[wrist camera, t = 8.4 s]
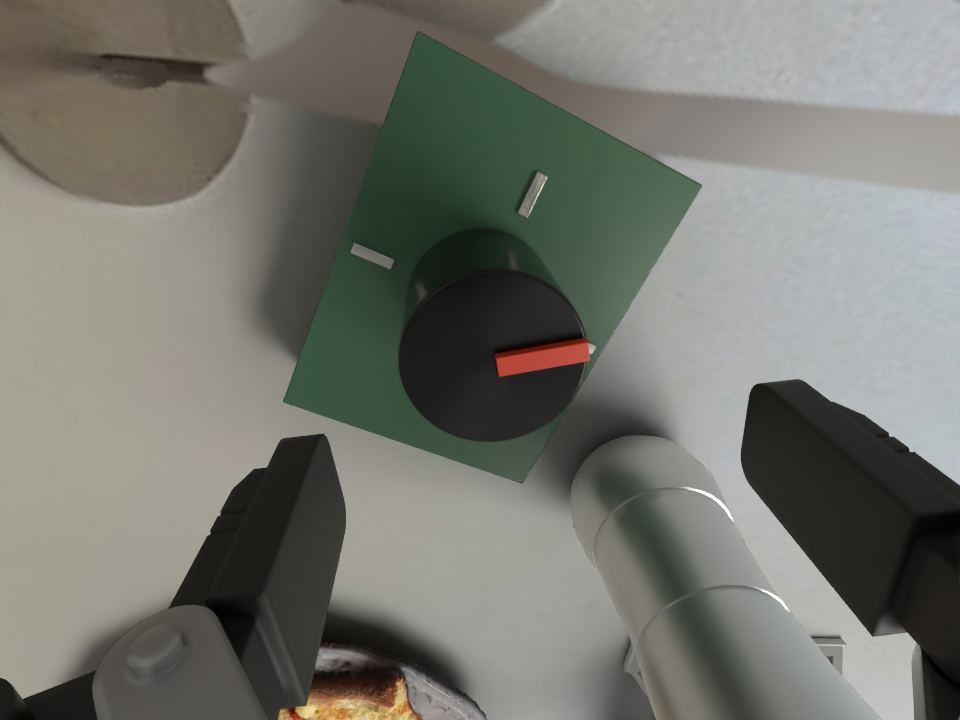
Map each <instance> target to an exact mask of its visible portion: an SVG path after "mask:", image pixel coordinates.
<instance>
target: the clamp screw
mask: <svg viewBox="0 0 960 720" xmlns="http://www.w3.org/2000/svg"><path fill="white" fill-rule="evenodd" d="M587 361H590V354H589V342H588V341H587V338H586V333H585V329H584V326H583V323H582V321H581V319H580V317H579V314H578V312H577V311H576V309H575V308H574V306H573V305H572V304H571V302H570V301H569V299H568V298H567V296H566V295H565V293H564V292H563V291H562V289H561V288H560V286H559V285H558V283H557V282H556V280H555V279H554V278H553V276H552V275H551V273H550V272H549V270H548V269H547V267H546V266H545V265H544V263H543V262H542V260H541V259H540V257H539V256H538V255H537V254H536V253H535V251H534V250H533V249H532V248H531V247H529V246H528V245H527V244H526V243H525V242H523V241H522V240H520V239H518V238H517V237H515V236H512V235H510V234H508V233H505V232H501V231H498V230H492V229H471V230H466V231H462V232H458V233H455V234H453V235H450V236H448V237H446V238H444V239H443V240H441V241H439V242H438V243H437V244H435V245H434V246H433V247H432V248H430V249H429V250H428V251H427V252H426V253H425V255H424V256H423V257H422V258H421V260H420V261H419V263H418V264H417V266H416V268H415V269H414V272H413V274H412V277H411V279H410V283H409V287H408V293H407V299H406V305H405V312H404V318H403V324H402V330H401V336H400V343H399V351H398V368H399V374H400V379H401V382H402V385H403V388H404V390H405V392H406V394H407V396H408V398H409V400H410V401H411V403H412V404H413V406H414V407H415V408H416V409H417V411H418V412H419V413H420V414H421V415H422V416H423V417H424V418H425V419H426V420H428V421H429V422H430V423H431V424H433V425H434V426H436V427H437V428H439V429H440V430H442V431H444V432H446V433H448V434H450V435H453V436H456V437H459V438H462V439H466V440H471V441H479V442H499V441H507V440H512V439H516V438H520V437H522V436H525V435H528V434H530V433H532V432H535V431H537V430H539V429H540V428H542V427H544V426H545V425H547V424H548V423H550V422H551V421H552V420H554V419H555V418H556V417H557V416H558V415H559V414H560V413H561V412H562V411H563V410H564V409H565V408H566V407H567V406H568V405H569V403H570V402H571V401H572V399H573V398H574V396H575V394H576V393H577V391H578V389H579V387H580V385H581V382H582V380H583V377H584V374H585V370H586V365H587Z"/></svg>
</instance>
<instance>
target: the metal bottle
mask: <svg viewBox="0 0 960 720" xmlns="http://www.w3.org/2000/svg"><path fill="white" fill-rule="evenodd" d="M570 498H571V509H572V518H573V526H574V529H575V532H576V535H577V537H578V539H579V541H580V543H581V545H582V547H583V549H584V551H585V552H586V554H587V556H588V558H589V559H590V561H591V562H592V564H593V565H594V567H595V569H596V570H597V572H598V573H599V574H600V576H601V577H602V579H603V581H604V584H605V586H606V588H607V590H608V592H609V594H610V597H611V599H612V601H613V603H614V605H615V607H616V609H617V612H618V614H619V616H620V618H621V620H622V622H623V625H624V627H625V629H626V631H627V633H628V635H629V637H630V640H631V642H632V645H633V649H634V652H635V655H636V658H637V661H638V664H639V667H640V669H641V674H642V677H643V681H644V684H645V687H646V690H647V693H648V696H649V700H650V703H651V706H652V709H653V712H654V716H655V719H656V720H882V719H881V718H880V717H879V716H878V715H877V714H876V713H875V712H874V710H873V709H872V708H871V707H870V706H869V705H868V704H867V703H866V702H865V700H864V699H863V698H862V697H861V696H860V695H859V694H858V693H857V692H856V690H855V689H854V688H853V687H852V686H851V685H850V684H849V683H848V682H847V681H846V679H845V678H844V677H843V676H842V675H841V674H840V673H839V672H838V671H837V669H836V668H835V667H834V666H833V665H832V664H831V663H830V661H829V660H828V659H827V658H826V656H825V655H824V654H823V652H822V651H821V650H820V648H819V647H818V646H817V645H816V643H815V642H814V641H813V639H812V638H811V637H810V636H809V634H808V633H807V632H806V630H805V629H804V628H803V626H802V625H801V624H800V623H799V621H798V620H797V619H796V618H795V617H794V616H793V615H792V613H790V611H789V609H788V607H787V606H786V605H785V603H784V602H783V601H782V599H781V598H780V597H779V596H778V594H777V593H776V592H775V590H774V589H773V588H772V587H771V585H770V584H769V582H768V581H767V579H766V577H765V575H764V574H763V572H762V570H761V569H760V567H759V565H758V563H757V562H756V560H755V558H754V557H753V555H752V553H751V552H750V550H749V548H748V546H747V545H746V543H745V541H744V540H743V538H742V536H741V534H740V533H739V531H738V529H737V528H736V526H735V524H734V523H733V519H732V516H731V513H730V511H729V508H728V506H727V504H726V502H725V500H724V497H723V495H722V494H721V492H720V490H719V488H718V486H717V484H716V482H715V480H714V478H713V476H712V475H711V473H710V472H709V471H708V470H707V469H706V467H705V466H704V465H703V464H702V463H700V462H699V461H698V460H697V459H696V458H695V457H694V456H692V455H691V454H690V453H689V452H688V451H687V450H685V449H684V448H683V447H681V446H680V445H679V444H677V443H675V442H672V441H670V440H668V439H665V438H660V437H656V436H645V435H631V436H624V437H620V438H617V439H614V440H611V441H609V442H607V443H605V444H603V445H601V446H600V447H599V448H597V449H596V450H594V451H593V452H592V453H591V454H590V455H589V456H588V457H587V458H586V460H585V461H584V463H583V464H582V466H581V467H580V469H579V470H578V471H577V473H576V475H575V478H574V480H573V482H572V486H571V493H570Z"/></svg>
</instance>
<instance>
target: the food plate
mask: <svg viewBox="0 0 960 720" xmlns="http://www.w3.org/2000/svg"><path fill="white" fill-rule="evenodd" d="M381 653H382V652H379V651H376V650H374V649H372V648H371V649H370V648H368V646H365V645H363V644H361V645H358V644H353V645H351V644H349V643H346V644H342V643H341V644H336V643H334V644H332V643H331V644H328V642H326V643H323V642H321V643H320V647H319V652H318V656H317V661H316V665H315V670H314V674H313V679H312V683H311V688H310V692H309V697H308V701H307V706H302V707H294V708H286V709H280V713H279V717H278V720H487V719H486V716H485V714H484V712H483V711H481V709H480V708H479V706H478V704H477V703H476V702H474V701H473V699H471V698H469V696H468V695H467V694H466V693H464V694H463V692H462V691H460V690H459V689H458V688H455V687H453V685H451V684H448V683H447V682H444V681H443V680H441V678H438V677H437V676H436V675H433V674H432V672H431V673H429V670H424V667H423V668H422V667H421V666H420V665H417V663H416V664H415V663H414V661H411V660H408V659H405V658H404V657H403V658H399V657H396V656H392V655H388V656H386V655H387V654H385V653H384V654H381Z"/></svg>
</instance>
